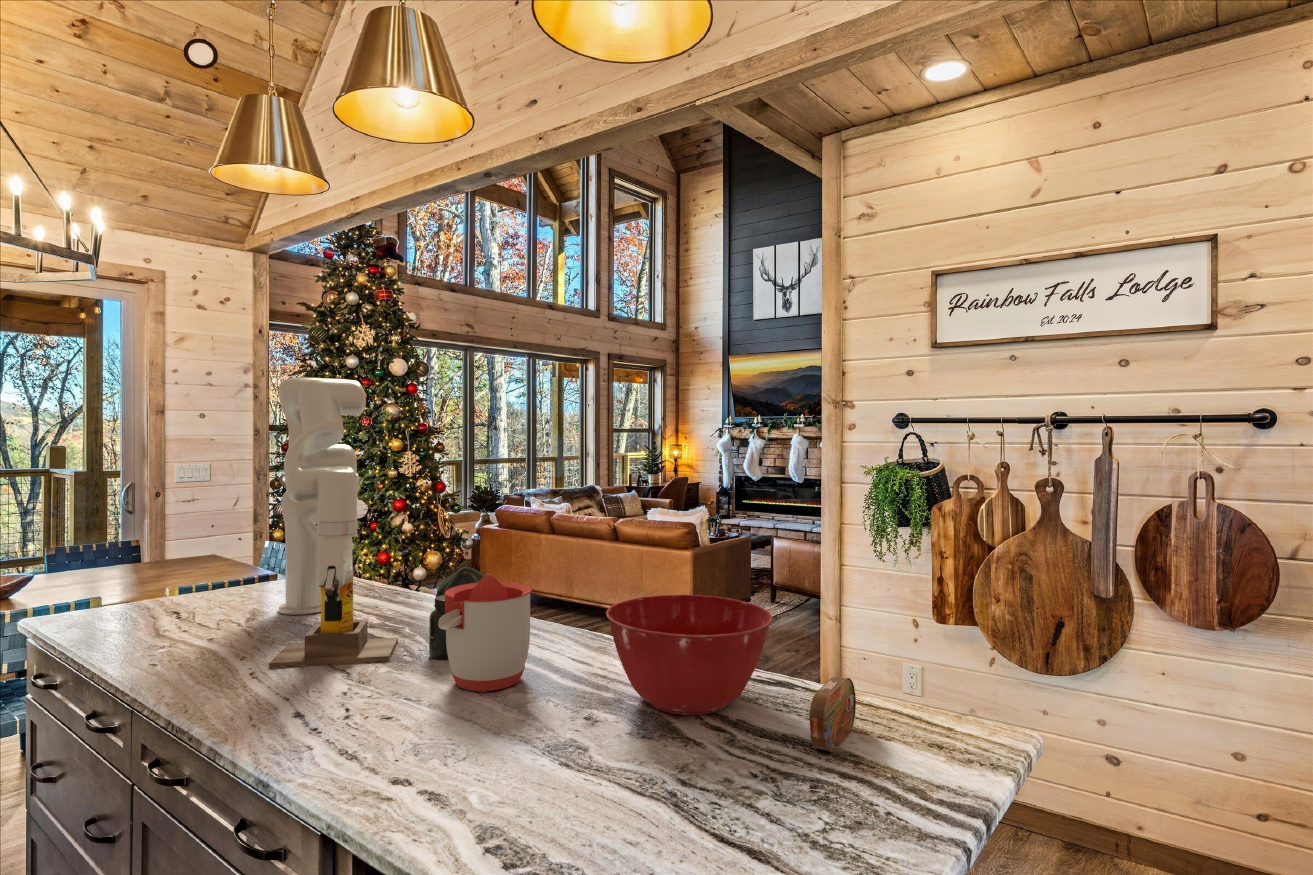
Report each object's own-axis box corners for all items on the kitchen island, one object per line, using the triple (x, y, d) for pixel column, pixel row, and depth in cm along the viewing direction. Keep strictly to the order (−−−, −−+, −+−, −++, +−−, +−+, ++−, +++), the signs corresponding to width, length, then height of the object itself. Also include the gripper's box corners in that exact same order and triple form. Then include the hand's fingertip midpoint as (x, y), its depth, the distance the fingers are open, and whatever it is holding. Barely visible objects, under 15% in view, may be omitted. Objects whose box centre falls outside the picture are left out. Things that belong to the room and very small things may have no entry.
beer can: (344, 642, 144) (345, 568, 144) (315, 641, 144) (315, 567, 144) (358, 633, 150) (358, 562, 150) (329, 633, 150) (329, 562, 150)
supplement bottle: (421, 658, 145) (421, 599, 145) (443, 648, 151) (443, 592, 151) (449, 662, 143) (449, 602, 142) (470, 652, 149) (470, 595, 149)
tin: (826, 761, 101) (827, 702, 101) (805, 755, 102) (805, 697, 102) (857, 724, 114) (858, 671, 113) (838, 720, 115) (838, 668, 115)
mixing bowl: (684, 662, 143) (685, 585, 143) (805, 701, 123) (805, 612, 123) (572, 698, 124) (573, 609, 123) (694, 752, 103) (694, 646, 103)
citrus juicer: (419, 684, 130) (419, 575, 130) (499, 662, 143) (499, 562, 143) (466, 707, 119) (466, 588, 119) (548, 681, 132) (549, 573, 132)
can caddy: (288, 648, 151) (288, 622, 151) (398, 642, 156) (398, 616, 156) (268, 668, 139) (268, 639, 138) (388, 660, 143) (388, 633, 143)
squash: (479, 590, 183) (448, 551, 174) (520, 601, 174) (490, 561, 165) (444, 636, 174) (410, 598, 166) (485, 650, 166) (451, 610, 157)
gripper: (327, 524, 155) (327, 606, 155) (306, 535, 138) (306, 628, 138) (364, 523, 156) (364, 605, 157) (348, 534, 139) (347, 626, 140)
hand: (337, 615), depth 147 cm, fingers closed on beer can, 6 cm apart
